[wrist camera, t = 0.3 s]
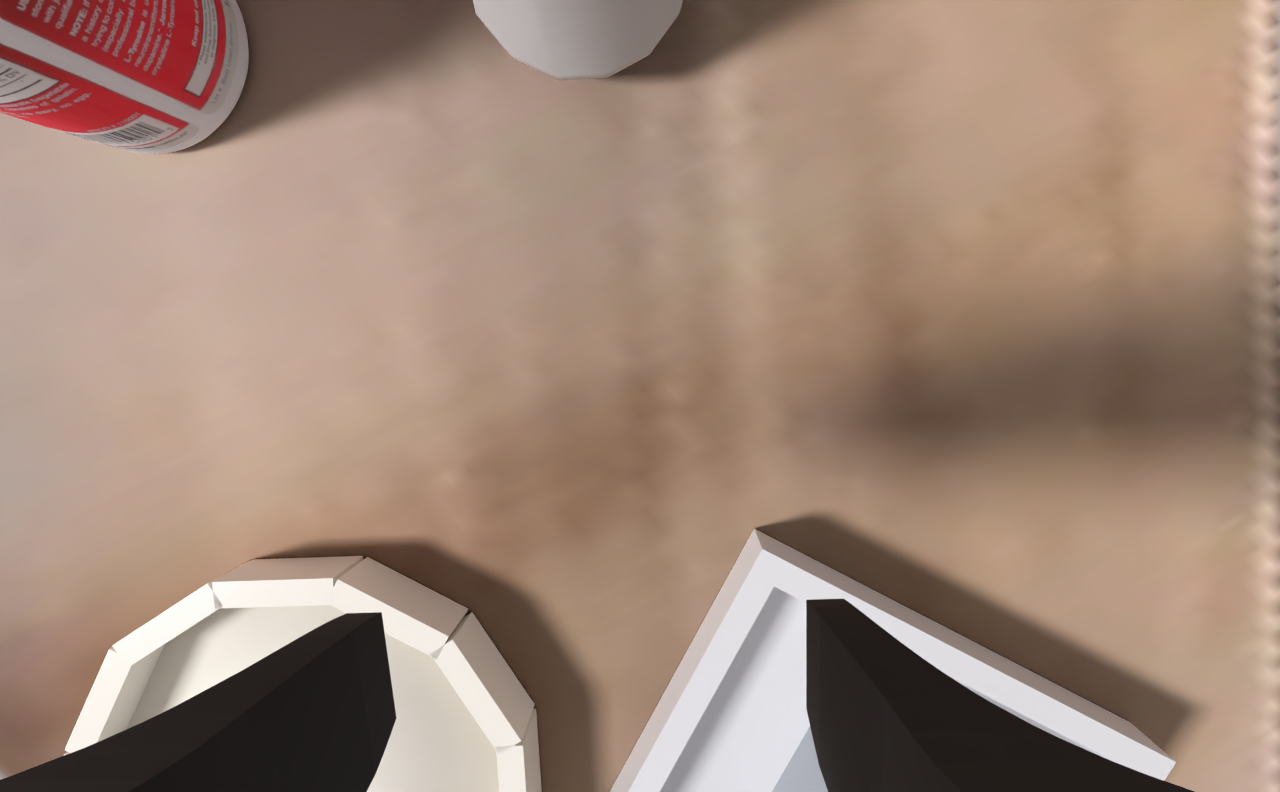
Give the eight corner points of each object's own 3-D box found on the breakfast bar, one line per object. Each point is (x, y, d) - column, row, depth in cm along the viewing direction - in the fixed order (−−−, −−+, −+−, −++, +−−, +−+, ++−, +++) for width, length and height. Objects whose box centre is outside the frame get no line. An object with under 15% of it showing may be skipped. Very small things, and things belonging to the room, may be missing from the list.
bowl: (427, 1031, 24) (405, 1095, 22) (58, 842, 24) (2, 889, 22) (614, 684, 22) (608, 718, 20) (220, 481, 22) (176, 496, 20)
